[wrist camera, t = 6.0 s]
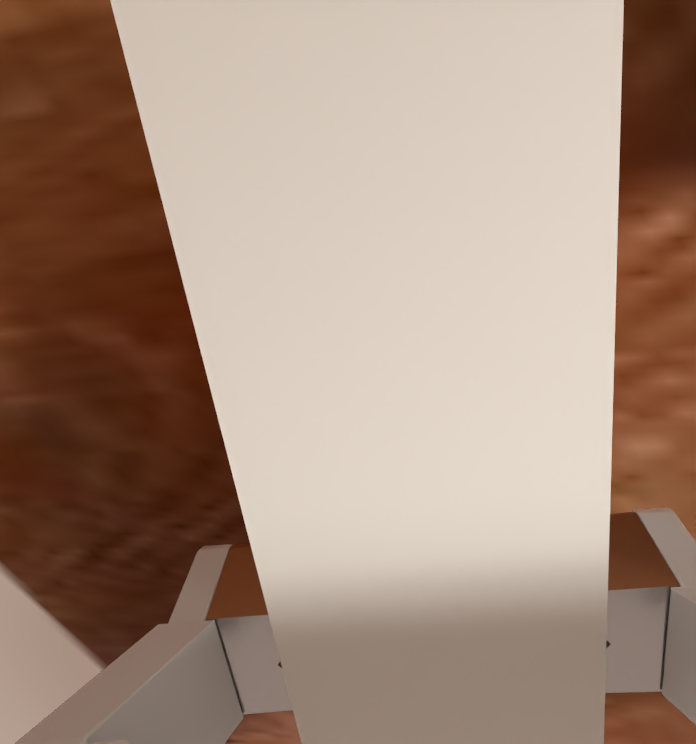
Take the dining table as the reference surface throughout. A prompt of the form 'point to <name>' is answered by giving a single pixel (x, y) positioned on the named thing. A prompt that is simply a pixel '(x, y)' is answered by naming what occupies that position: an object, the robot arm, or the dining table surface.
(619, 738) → the dining table surface
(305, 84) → the rail
